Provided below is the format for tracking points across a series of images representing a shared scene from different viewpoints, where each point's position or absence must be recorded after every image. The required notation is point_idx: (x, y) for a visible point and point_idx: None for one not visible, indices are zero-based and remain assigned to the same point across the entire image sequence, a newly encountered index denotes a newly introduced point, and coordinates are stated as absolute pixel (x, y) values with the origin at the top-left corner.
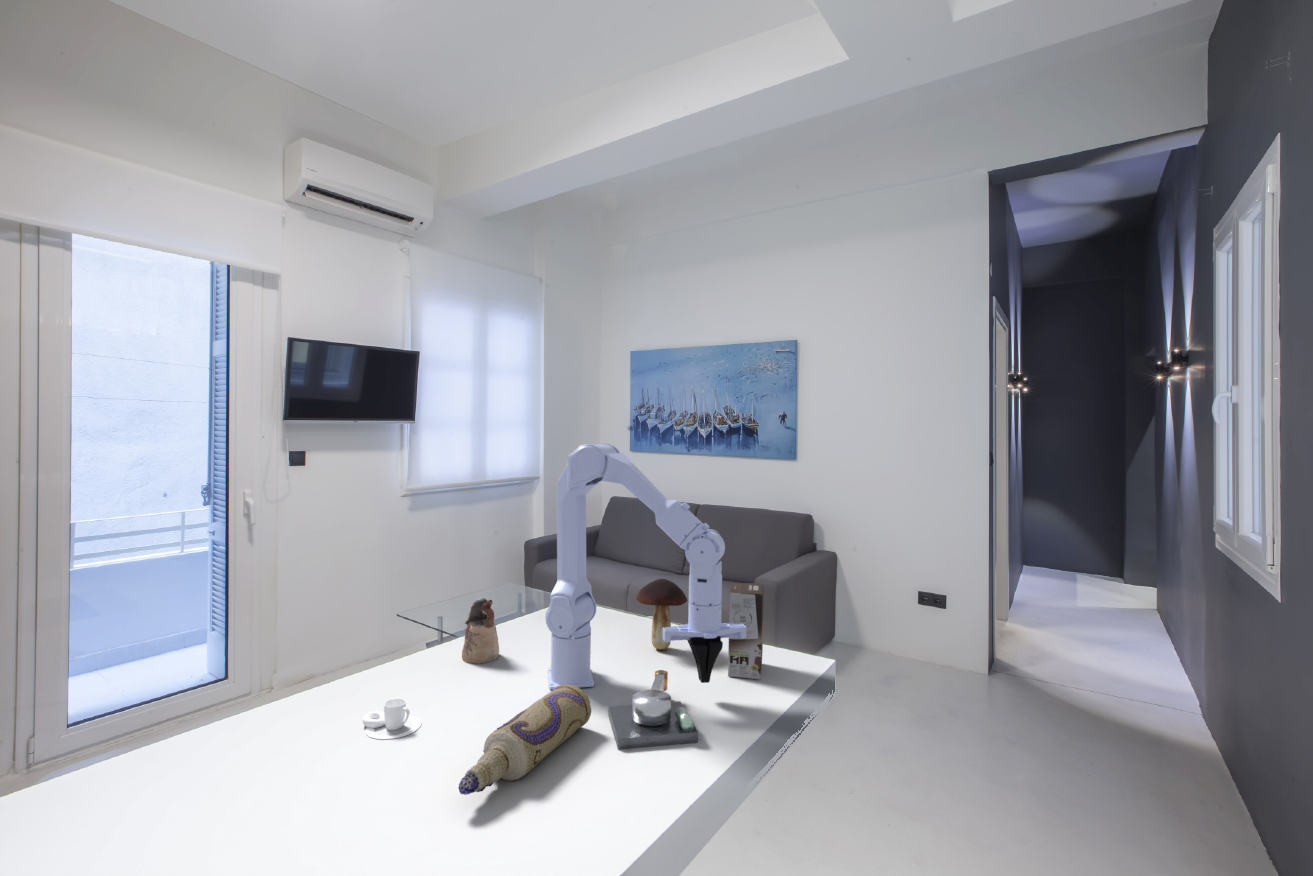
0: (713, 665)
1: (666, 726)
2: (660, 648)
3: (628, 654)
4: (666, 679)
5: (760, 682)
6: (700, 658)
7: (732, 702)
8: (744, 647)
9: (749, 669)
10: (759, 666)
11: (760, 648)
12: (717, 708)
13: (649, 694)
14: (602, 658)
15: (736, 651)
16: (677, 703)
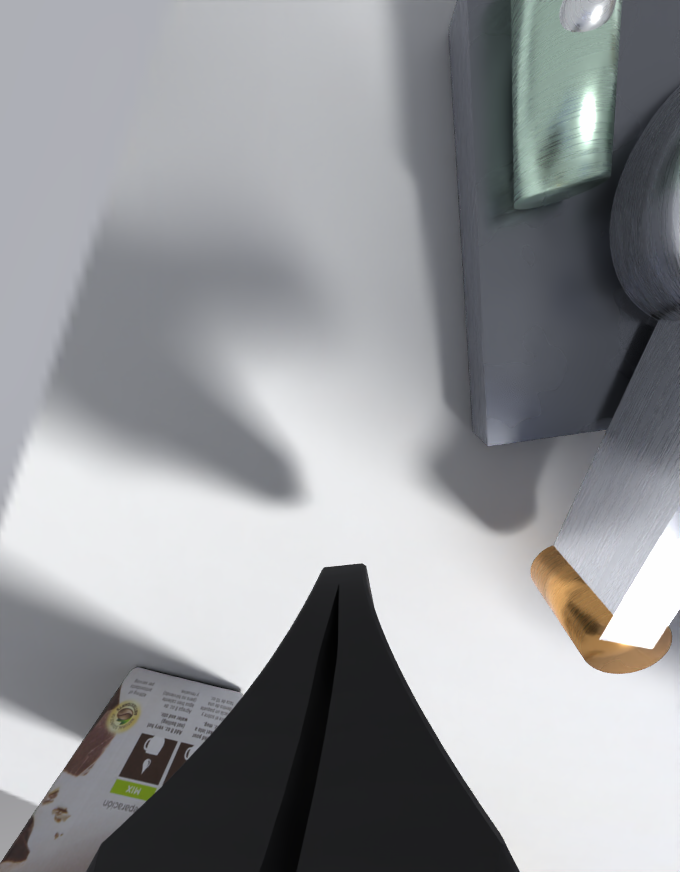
0: (276, 651)
1: (669, 68)
2: None
3: (569, 846)
4: (575, 595)
5: (131, 649)
6: (390, 709)
7: (235, 503)
8: None
9: (149, 711)
10: (99, 720)
11: (23, 830)
12: (301, 451)
13: None
14: (674, 832)
15: None
16: (509, 420)
